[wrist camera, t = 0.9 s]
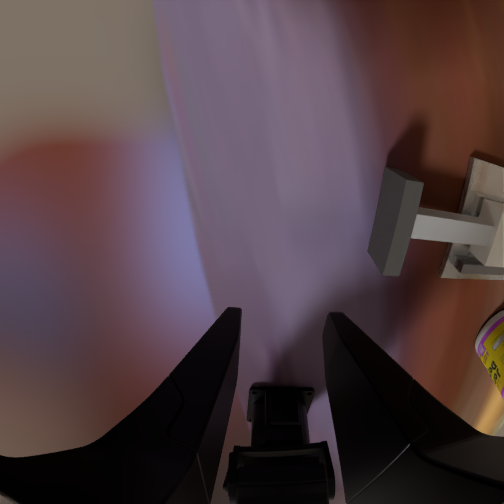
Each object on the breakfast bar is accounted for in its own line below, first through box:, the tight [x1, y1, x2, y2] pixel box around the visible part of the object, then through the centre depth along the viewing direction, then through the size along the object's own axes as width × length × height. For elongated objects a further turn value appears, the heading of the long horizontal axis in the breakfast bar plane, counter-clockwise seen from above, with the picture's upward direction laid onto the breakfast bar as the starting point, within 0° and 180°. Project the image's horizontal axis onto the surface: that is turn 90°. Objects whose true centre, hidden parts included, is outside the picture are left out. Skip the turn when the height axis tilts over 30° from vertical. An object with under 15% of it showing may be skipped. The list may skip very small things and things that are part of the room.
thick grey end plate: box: [368, 167, 504, 276], centre depth 17 cm, size 8×13×3 cm, turn 86°
